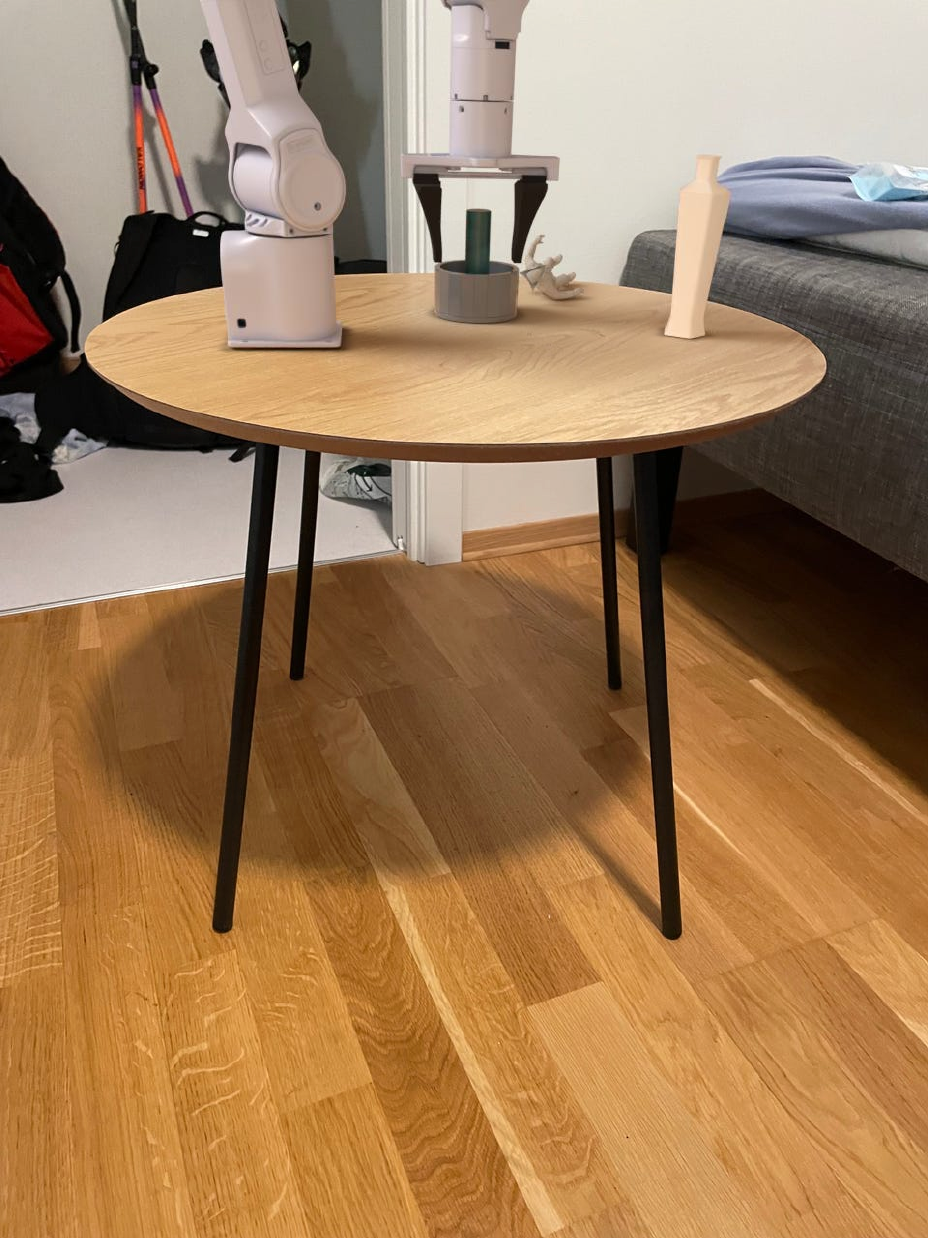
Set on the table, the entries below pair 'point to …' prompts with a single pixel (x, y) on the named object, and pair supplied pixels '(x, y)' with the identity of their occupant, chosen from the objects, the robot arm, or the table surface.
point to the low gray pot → (476, 292)
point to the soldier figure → (547, 274)
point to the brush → (477, 241)
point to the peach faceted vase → (696, 247)
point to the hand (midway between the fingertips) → (477, 261)
